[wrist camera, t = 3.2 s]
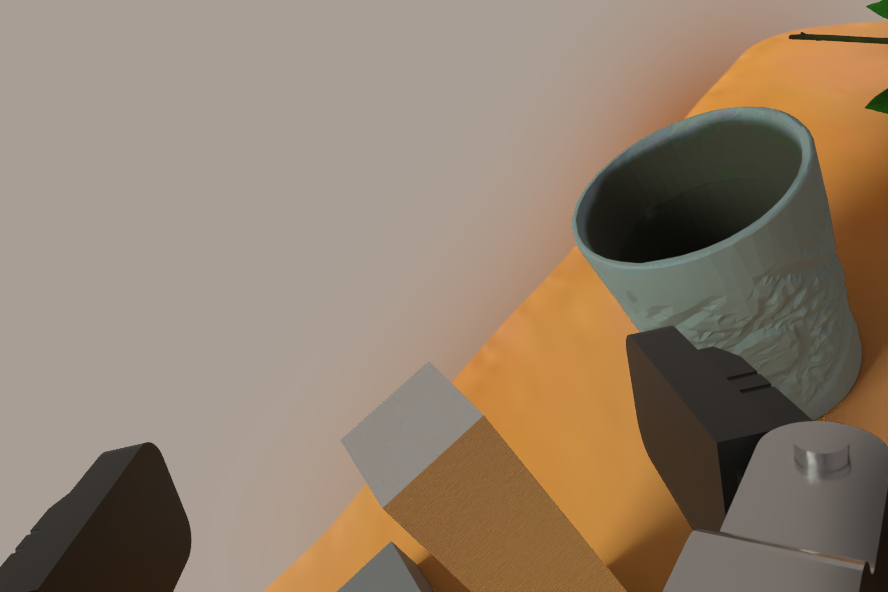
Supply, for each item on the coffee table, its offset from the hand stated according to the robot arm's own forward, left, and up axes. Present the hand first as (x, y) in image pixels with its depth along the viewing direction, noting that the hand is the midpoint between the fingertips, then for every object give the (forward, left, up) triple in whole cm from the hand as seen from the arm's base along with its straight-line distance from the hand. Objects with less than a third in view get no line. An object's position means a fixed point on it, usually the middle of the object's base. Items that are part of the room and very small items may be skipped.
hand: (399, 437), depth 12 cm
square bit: (0, -9, -22) cm, 23 cm away
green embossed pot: (-15, -13, -22) cm, 29 cm away
